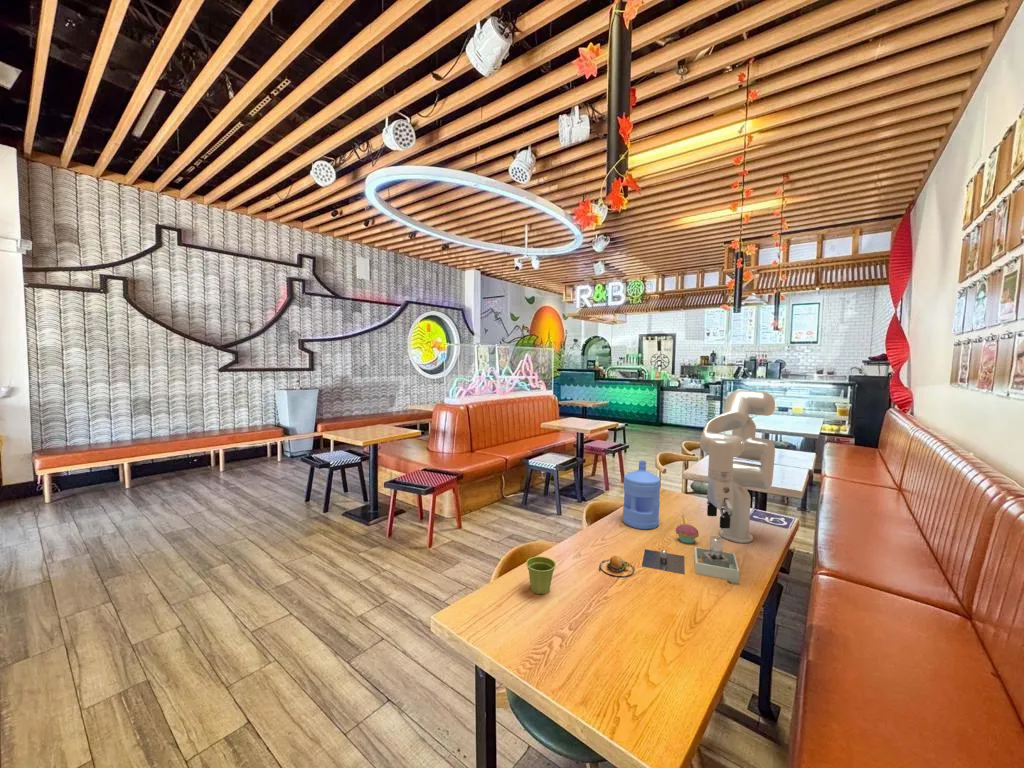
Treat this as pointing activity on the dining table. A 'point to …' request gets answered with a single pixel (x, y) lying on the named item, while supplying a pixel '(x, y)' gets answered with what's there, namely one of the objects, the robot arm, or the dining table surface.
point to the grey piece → (715, 553)
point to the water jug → (641, 498)
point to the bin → (717, 567)
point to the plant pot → (540, 573)
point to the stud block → (664, 561)
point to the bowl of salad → (616, 565)
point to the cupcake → (686, 532)
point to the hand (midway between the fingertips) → (718, 521)
